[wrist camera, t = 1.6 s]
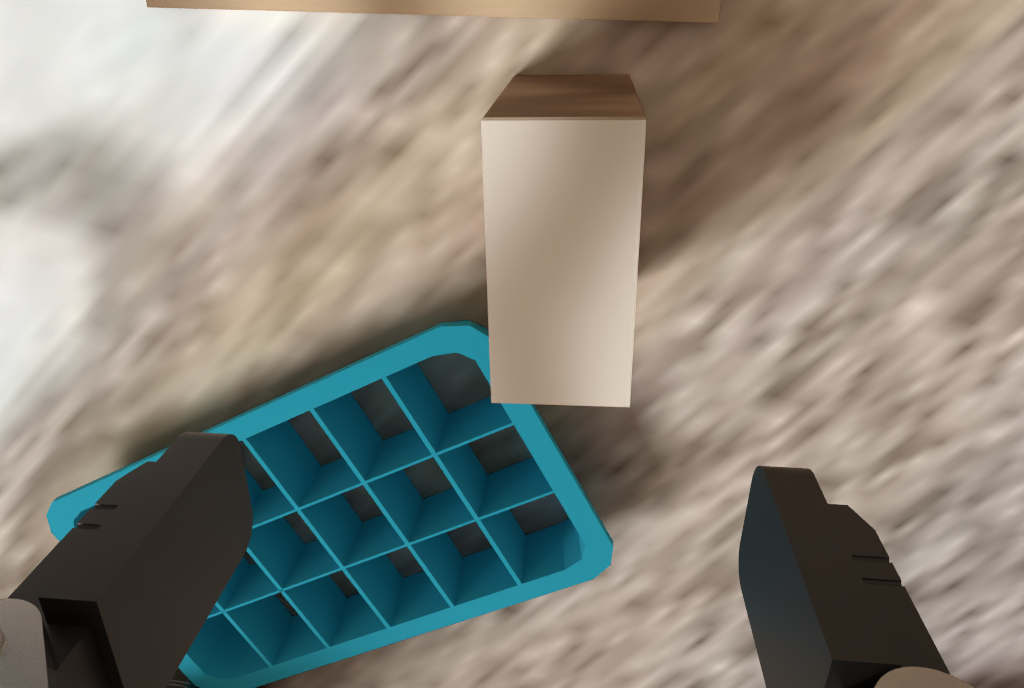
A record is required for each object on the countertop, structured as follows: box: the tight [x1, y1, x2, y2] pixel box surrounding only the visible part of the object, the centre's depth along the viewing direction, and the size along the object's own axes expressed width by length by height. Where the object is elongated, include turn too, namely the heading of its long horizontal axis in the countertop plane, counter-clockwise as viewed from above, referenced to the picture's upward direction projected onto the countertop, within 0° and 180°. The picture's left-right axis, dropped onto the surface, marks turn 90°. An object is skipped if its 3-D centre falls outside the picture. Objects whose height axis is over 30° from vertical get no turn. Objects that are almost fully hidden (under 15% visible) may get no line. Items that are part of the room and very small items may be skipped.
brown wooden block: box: [481, 74, 646, 407], centre depth 21 cm, size 4×7×8 cm, turn 1°
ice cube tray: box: [47, 320, 613, 688], centre depth 30 cm, size 12×20×3 cm, turn 118°
